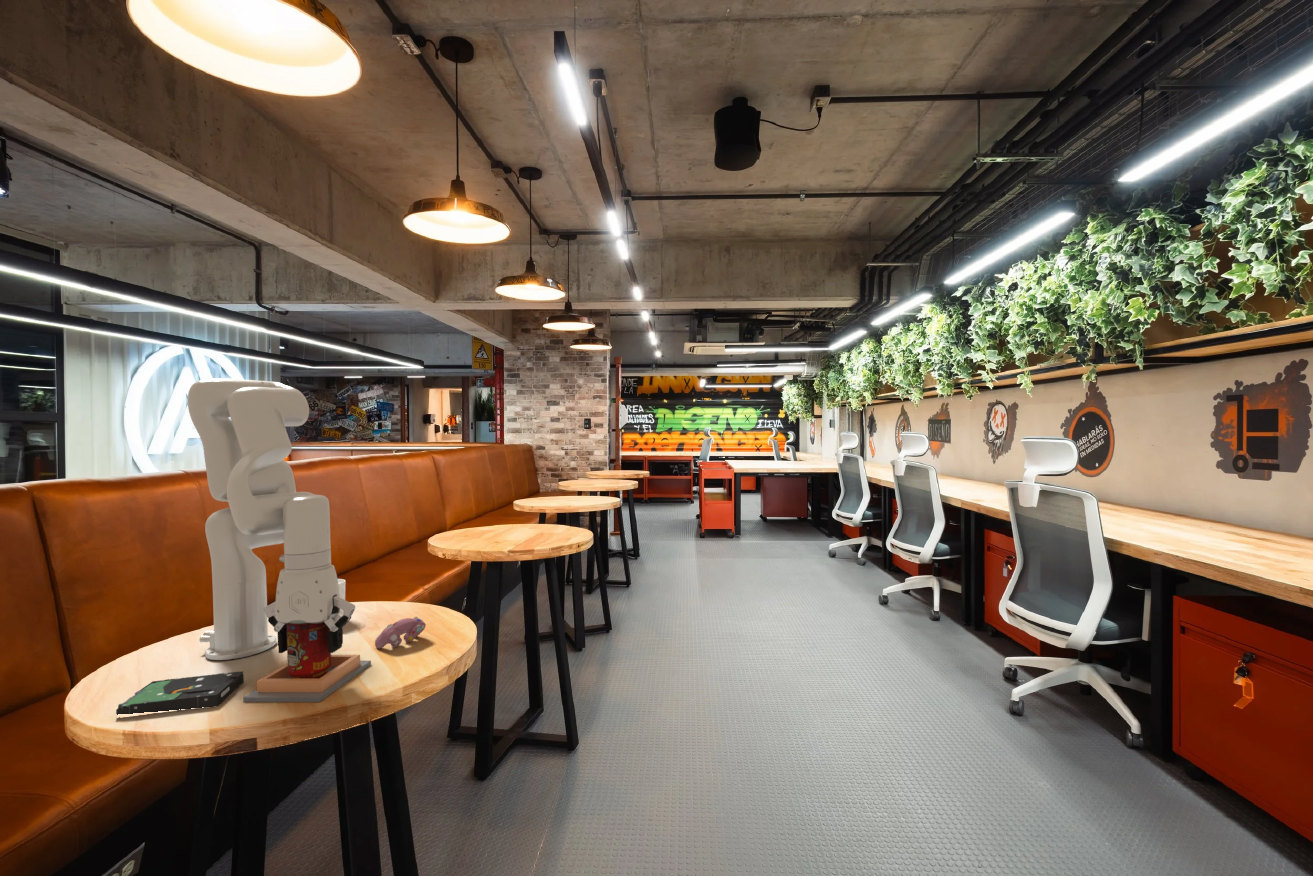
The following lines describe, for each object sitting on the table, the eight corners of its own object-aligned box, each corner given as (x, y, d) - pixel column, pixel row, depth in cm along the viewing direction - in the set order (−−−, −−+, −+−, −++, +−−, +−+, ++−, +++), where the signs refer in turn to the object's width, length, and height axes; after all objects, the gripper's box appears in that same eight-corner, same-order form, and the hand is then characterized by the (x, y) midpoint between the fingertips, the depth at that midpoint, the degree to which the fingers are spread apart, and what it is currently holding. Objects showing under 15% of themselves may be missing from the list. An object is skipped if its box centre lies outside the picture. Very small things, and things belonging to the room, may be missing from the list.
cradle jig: (243, 701, 99) (242, 686, 99) (304, 664, 115) (304, 651, 115) (319, 702, 98) (319, 686, 98) (370, 664, 114) (370, 650, 114)
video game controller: (381, 659, 121) (388, 633, 119) (371, 645, 124) (378, 620, 122) (423, 644, 129) (430, 619, 127) (413, 632, 132) (420, 607, 130)
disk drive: (244, 684, 108) (152, 695, 104) (244, 670, 108) (151, 680, 104) (218, 710, 98) (114, 722, 94) (218, 694, 98) (114, 705, 94)
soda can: (278, 683, 104) (276, 617, 104) (310, 668, 111) (309, 606, 111) (309, 687, 103) (307, 620, 102) (340, 671, 109) (338, 608, 109)
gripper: (249, 565, 103) (251, 658, 103) (340, 564, 102) (342, 658, 102) (278, 556, 111) (281, 643, 111) (363, 555, 110) (366, 642, 110)
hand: (310, 650), depth 107 cm, fingers open, 9 cm apart
